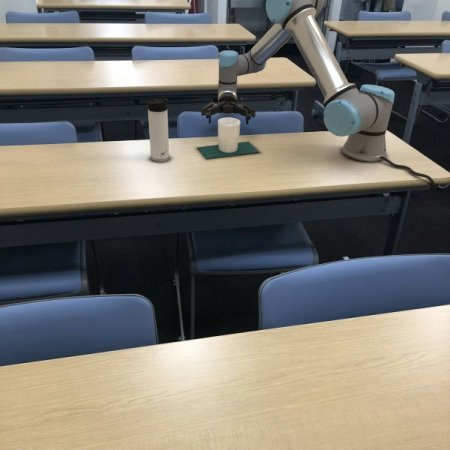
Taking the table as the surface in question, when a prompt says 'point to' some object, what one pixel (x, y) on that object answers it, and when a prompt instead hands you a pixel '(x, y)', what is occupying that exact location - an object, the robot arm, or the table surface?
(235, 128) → the white cup
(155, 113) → the travel mug
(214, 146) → the placemat
